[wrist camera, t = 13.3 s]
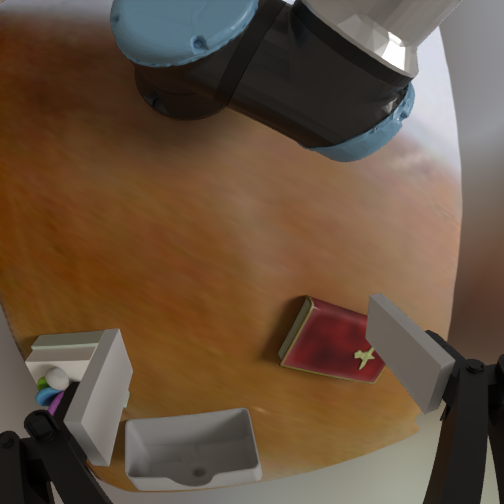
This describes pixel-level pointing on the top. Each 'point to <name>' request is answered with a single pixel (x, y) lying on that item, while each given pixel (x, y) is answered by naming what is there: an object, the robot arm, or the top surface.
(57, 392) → the chunky wheeled toy
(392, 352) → the robot arm
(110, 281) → the top surface
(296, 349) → the hardcover book
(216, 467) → the light grey storage bin
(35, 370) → the grey square box
